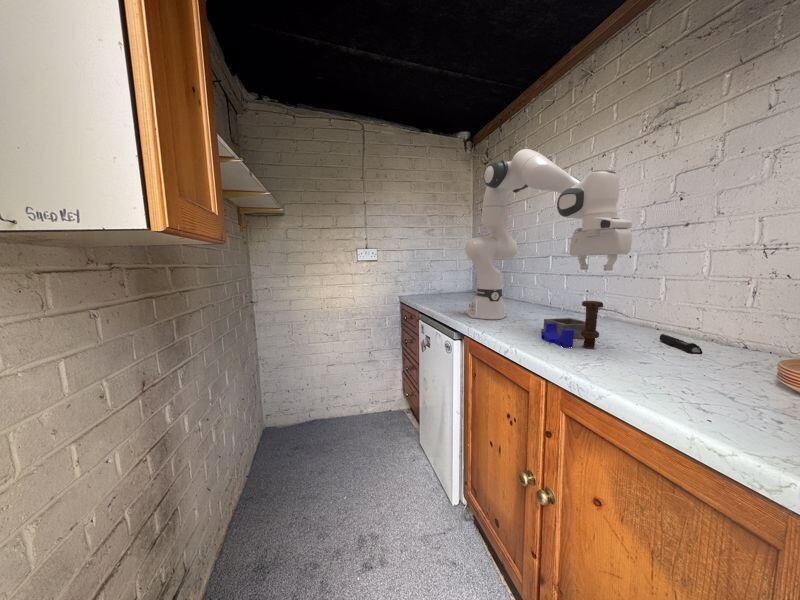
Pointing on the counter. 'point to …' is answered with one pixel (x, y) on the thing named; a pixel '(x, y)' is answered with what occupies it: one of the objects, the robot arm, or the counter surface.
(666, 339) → the electric trimmer
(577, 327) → the bolt stand
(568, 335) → the cable clip
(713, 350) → the counter surface
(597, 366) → the counter surface
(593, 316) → the bolt
